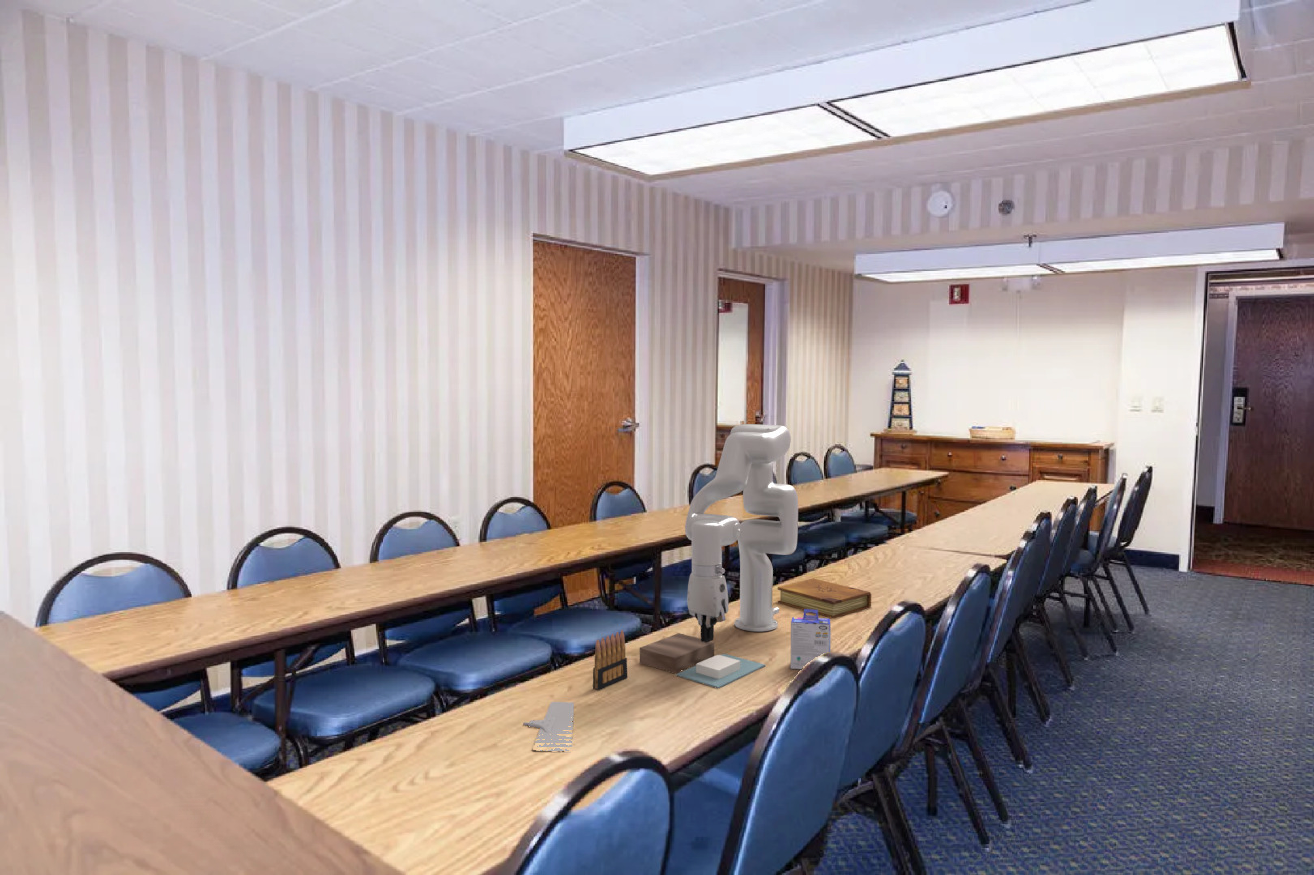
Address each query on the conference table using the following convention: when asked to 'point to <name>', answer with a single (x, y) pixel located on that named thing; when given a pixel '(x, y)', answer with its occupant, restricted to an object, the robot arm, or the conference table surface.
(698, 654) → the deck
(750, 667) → the mat
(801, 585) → the diary
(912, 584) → the conference table surface
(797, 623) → the ink cartridge box
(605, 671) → the ammunition clip
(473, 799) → the conference table surface
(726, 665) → the white rectangular block
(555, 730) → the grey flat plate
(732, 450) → the robot arm
